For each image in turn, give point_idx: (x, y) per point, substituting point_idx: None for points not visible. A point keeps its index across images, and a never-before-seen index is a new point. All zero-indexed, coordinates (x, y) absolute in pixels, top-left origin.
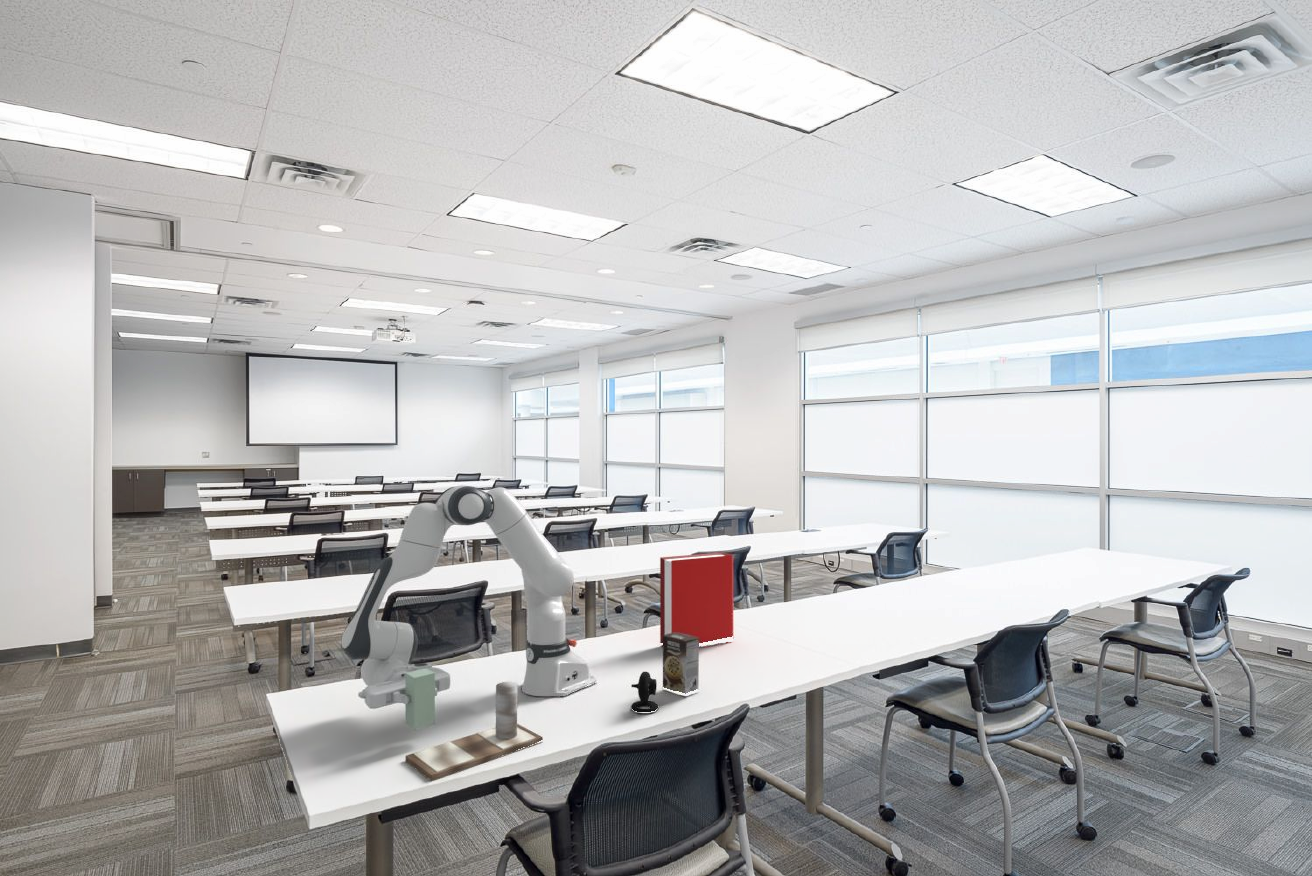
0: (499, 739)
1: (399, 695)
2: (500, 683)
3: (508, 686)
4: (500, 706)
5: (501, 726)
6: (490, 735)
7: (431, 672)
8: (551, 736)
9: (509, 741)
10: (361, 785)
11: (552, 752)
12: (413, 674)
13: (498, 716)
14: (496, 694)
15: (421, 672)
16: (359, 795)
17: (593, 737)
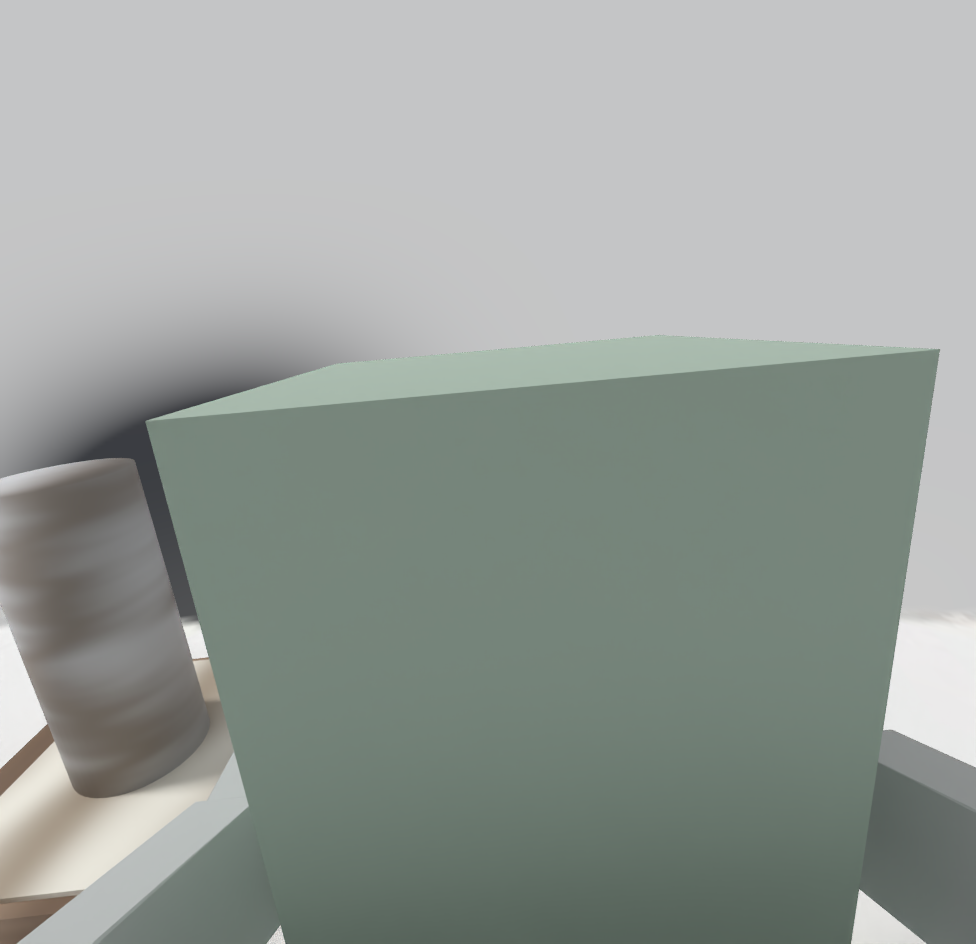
0: (213, 722)
1: (962, 769)
2: (18, 492)
3: (82, 466)
4: (163, 564)
5: (191, 660)
6: (179, 790)
7: (352, 364)
8: (25, 713)
9: (214, 686)
10: (951, 722)
11: (193, 623)
12: (662, 343)
13: (176, 624)
14: (125, 521)
15: (481, 359)
16: (914, 657)
17: (10, 642)
